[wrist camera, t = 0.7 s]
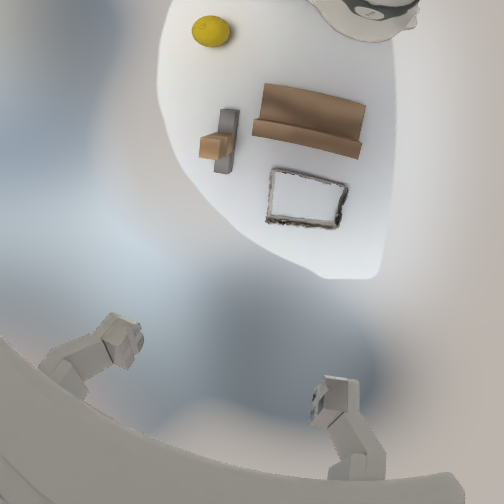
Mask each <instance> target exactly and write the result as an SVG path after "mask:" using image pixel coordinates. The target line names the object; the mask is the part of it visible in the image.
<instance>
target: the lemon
mask: <svg viewBox="0 0 504 504" xmlns="http://www.w3.org/2000/svg"><path fill="white" fill-rule="evenodd" d="M192 35H193V37H194V39H195V40H196V41H197V42H198V43H200V44H201V45H204V46H207V47H216V46H219V45H221V44H223V43H224V42H226V41H227V39H228V38H229V35H230V27H229V25H228V23H227V22H226V21H225V20H223V19H222V18H220V17H216V16H205V17H202V18H200V19H198V20H197V21H196V22H195V23H194V25H193V27H192Z"/></svg>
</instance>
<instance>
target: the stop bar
mask: <svg viewBox="0 0 504 504" xmlns="http://www.w3.org/2000/svg"><path fill="white" fill-rule="evenodd" d="M365 108H366V105H363V104H359V103H356V102H352V101H349V100H345V99H341V98H338V97H334V96H330V95H325V94H321V93H317V92H312V91H307V90H302V89H297V88H291V87H286V86H279V85H273V84H266V83H265V85H264V92H263V98H262V105H261V111H260V118H258V119H254V123H253V130H252V136H258V137H264V138H270V139H275V140H280V141H285V142H290V143H295V144H299V145H304V146H308V147H312V148H317V149H321V150H325V151H329V152H333V153H336V154H340V155H344V156H347V157H351V158H354V159H358V158H359V154H360V150H361V145H362V143H361V142H359V141H358V139H359V135H360V131H361V126H362V122H363V117H364V112H365Z"/></svg>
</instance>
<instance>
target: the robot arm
mask: <svg viewBox="0 0 504 504" xmlns="http://www.w3.org/2000/svg"><path fill="white" fill-rule="evenodd" d="M307 1H308V2H310V3H311V4H313V5H314V6H316V7H317V9H318V10H319V11H320V13H321V15H322V16H323V18H324V19H325V20H326V21H327V22H328V23H329V24H330V25H331V26H332V27H333V28H334V29H336V30H337V31H339V32H340V33H342V34H344V35H346V36H348V37H350V38H353V39H356V40H360V41H365V42H380V41H385V40H388V39H390V38H392V37H394V36H395V35H396V34H398V33H399V32H400V31H402V30H409V29H413V28H415V27H416V25H417V20H416V15H417V14H418V13H419V10H420V9H419V8H418V2H419V0H307ZM140 330H141V325H140V323H138V322H135V321H133V320H131V319H128V318H126V317H123V316H121V315H119V314H116V313H114V312H111V313H109V314H108V315H107V316H106V318H105V319H104V320H103V321H102V323H101V324H100V325H99V326H98V327H97V329H96V330H95V331H94V333H93V334H92V335H91V334H87V335H85V336H82V337H80V338H78V339H75V340H73V341H71V342H68V343H65V344H63V345H60V346H58V347H55V348H53V349H51V350H50V351H49V353H48V354H47V355H46V357H45V358H44V359H43V360H42V362H41V363H40V364H39V365H38V367H36V366H34V365H33V364H32V363H31V362H29V361H28V360H27V359H26V358H25V357H24V356H23V355H21V354H20V353H19V352H18V351H17V350H16V349H15V348H14V347H13V346H12V345H11V344H10V343H8V342H7V341H6V340H5V339H4V338H3V337H2V336H1V335H0V504H465V492H464V489H463V487H462V486H461V484H460V483H459V481H458V480H457V479H456V478H455V476H454V475H453V474H452V473H450V472H443V473H438V474H432V475H426V476H419V477H412V478H403V479H392V480H385V473H386V452H385V450H384V449H383V447H382V445H381V444H380V442H379V441H378V439H377V437H376V436H375V434H374V432H373V431H372V429H371V428H370V426H369V424H368V423H367V421H366V420H365V418H364V416H363V415H362V414H359V382H358V380H354V379H346V378H341V377H334V376H327V375H324V376H323V377H322V379H321V383H320V384H318V385H317V386H316V388H315V391H314V393H313V398H312V405H313V406H314V408H313V410H312V411H311V413H310V421H309V425H311V426H317V427H324V428H327V431H328V433H329V435H330V437H331V440H332V442H333V444H334V447H335V449H336V451H337V453H338V455H339V458H340V460H341V461H340V462H339V463H337V464H335V465H333V466H332V467H330V468H329V471H328V477H327V480H319V479H308V478H299V477H291V476H284V475H278V474H272V473H266V472H261V471H256V470H251V469H247V468H243V467H238V466H234V465H230V464H227V463H223V462H219V461H216V460H213V459H209V458H206V457H203V456H200V455H197V454H194V453H191V452H188V451H185V450H182V449H180V448H177V447H174V446H172V445H169V444H167V443H164V442H162V441H160V440H157V439H155V438H153V437H150V436H148V435H146V434H144V433H142V432H139V431H137V430H135V429H133V428H131V427H129V426H127V425H125V424H123V423H121V422H119V421H117V420H115V419H114V418H112V417H110V416H108V415H106V414H104V413H103V412H101V411H99V410H98V409H96V408H94V407H92V406H91V405H89V404H88V403H86V402H84V401H83V400H84V399H85V397H86V396H87V394H88V392H89V390H88V388H87V386H86V385H85V384H84V381H85V380H87V379H89V378H91V377H93V376H94V375H96V374H98V373H100V372H101V371H103V370H105V369H106V368H108V367H110V366H112V365H113V364H115V365H118V366H120V367H122V368H124V369H126V370H128V369H129V368H130V366H131V365H132V363H133V361H134V355H135V354H137V353H139V352H140V350H141V349H142V346H143V343H144V336H143V334H142V333H141V332H140Z"/></svg>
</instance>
